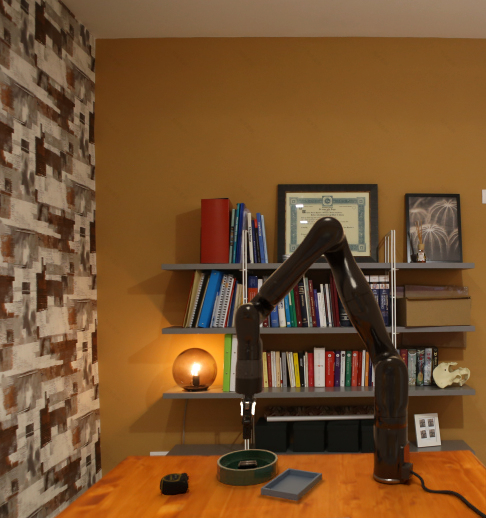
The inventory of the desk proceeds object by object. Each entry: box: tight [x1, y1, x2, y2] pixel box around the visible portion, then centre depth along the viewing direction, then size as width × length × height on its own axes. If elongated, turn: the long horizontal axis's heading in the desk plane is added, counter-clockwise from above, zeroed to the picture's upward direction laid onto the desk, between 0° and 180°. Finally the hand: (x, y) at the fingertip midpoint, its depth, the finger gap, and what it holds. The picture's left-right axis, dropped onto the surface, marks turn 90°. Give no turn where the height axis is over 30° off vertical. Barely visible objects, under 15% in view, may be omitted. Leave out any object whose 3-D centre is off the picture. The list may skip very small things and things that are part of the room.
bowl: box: [216, 448, 279, 487], centre depth 135 cm, size 16×16×4 cm
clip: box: [238, 461, 257, 470], centre depth 135 cm, size 5×2×3 cm, turn 100°
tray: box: [260, 467, 323, 502], centre depth 127 cm, size 10×14×2 cm
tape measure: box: [159, 472, 190, 496], centre depth 124 cm, size 7×7×4 cm
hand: (247, 434), depth 135 cm, fingers open, 8 cm apart
